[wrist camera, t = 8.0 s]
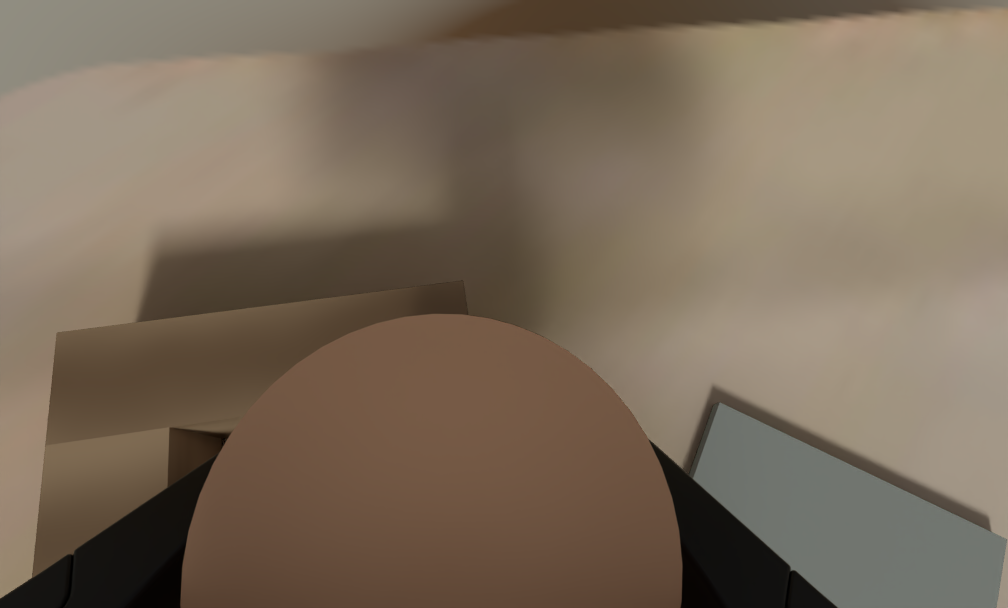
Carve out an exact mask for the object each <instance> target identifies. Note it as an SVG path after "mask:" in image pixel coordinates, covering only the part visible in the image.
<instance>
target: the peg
mask: <svg viewBox="0 0 1008 608" xmlns="http://www.w3.org/2000/svg"><path fill="white" fill-rule="evenodd" d="M681 601H682V556H681V545H680V534H679V528H678V523H677V518H676V514H675V509H674V504H673V500H672V496H671V493H670V490H669V487H668V484H667V481H666V478H665V475H664V473H663V470H662V467H661V465H660V463H659V460H658V458H657V456H656V454H655V452H654V450H653V448H652V446H651V444H650V442H649V440H648V438H647V436H646V434H645V433H644V431H643V430H642V428H641V427H640V425H639V423H638V422H637V420H636V419H635V417H634V416H633V414H632V412H631V411H630V410H629V409H628V407H627V406H626V405H625V404H624V402H623V401H622V400H621V399H620V398H619V396H618V395H617V394H616V393H615V391H614V390H613V389H612V388H611V387H610V386H609V385H608V384H607V383H606V382H605V381H604V380H603V379H602V378H601V377H600V376H598V375H597V374H596V373H595V372H594V371H593V370H592V369H591V368H590V367H589V366H587V365H586V364H585V363H583V362H582V361H581V360H579V359H578V358H577V357H575V356H574V355H573V354H571V353H570V352H569V351H567V350H565V349H564V348H562V347H560V346H558V345H557V344H555V343H553V342H551V341H550V340H548V339H546V338H544V337H542V336H540V335H538V334H535V333H533V332H530V331H528V330H526V329H523V328H521V327H518V326H515V325H512V324H508V323H505V322H501V321H497V320H494V319H490V318H484V317H477V316H470V315H463V314H427V315H417V316H407V317H402V318H397V319H393V320H389V321H384V322H380V323H376V324H373V325H371V326H368V327H365V328H362V329H360V330H357V331H354V332H351V333H349V334H347V335H345V336H343V337H341V338H339V339H337V340H335V341H333V342H331V343H329V344H327V345H325V346H323V347H321V348H320V349H318V350H317V351H315V352H314V353H312V354H311V355H309V356H308V357H306V358H305V359H303V360H301V361H300V362H298V363H297V364H296V365H294V366H293V367H292V368H291V369H290V370H289V371H287V372H286V373H285V374H284V375H283V376H281V377H280V378H279V379H278V380H277V381H276V382H274V383H273V384H272V385H271V386H270V387H269V388H268V389H267V390H266V391H265V392H264V394H263V395H262V396H261V397H260V398H259V399H258V400H257V401H256V402H255V403H254V404H253V405H252V406H251V407H250V409H249V410H248V411H247V413H246V414H245V415H244V417H243V418H242V419H241V421H240V422H239V423H238V425H237V426H236V427H235V429H234V430H233V431H232V433H231V434H230V436H229V437H228V439H227V441H226V443H225V444H224V446H223V448H222V450H221V451H220V453H219V455H218V456H217V458H216V460H215V462H214V463H213V465H212V468H211V470H210V472H209V475H208V477H207V479H206V481H205V484H204V486H203V488H202V491H201V493H200V495H199V498H198V501H197V505H196V508H195V511H194V515H193V518H192V521H191V525H190V528H189V531H188V537H187V543H186V549H185V554H184V560H183V566H182V582H181V601H180V607H181V608H681Z"/></svg>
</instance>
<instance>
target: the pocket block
mask: <svg viewBox="0 0 1008 608" xmlns="http://www.w3.org/2000/svg"><path fill="white" fill-rule="evenodd" d="M427 314H463V315H468V311H467V304H466V297H465V290H464V283H463V281H455V282H447V283H439V284H432V285H424V286H416V287H408V288H400V289H393V290H385V291H377V292H369V293H362V294H354V295H346V296H338V297H330V298H323V299H315V300H307V301H299V302H291V303H284V304H276V305H268V306H260V307H253V308H245V309H237V310H229V311H221V312H214V313H206V314H198V315H190V316H183V317H175V318H167V319H159V320H151V321H144V322H136V323H128V324H120V325H112V326H105V327H97V328H89V329H81V330H74V331H66V332H58V333H57V335H56V345H55V355H54V365H53V375H52V385H51V395H50V405H49V415H48V425H47V435H46V444H45V454H44V464H43V474H42V484H41V494H40V504H39V514H38V524H37V534H36V544H35V554H34V564H33V573H32V578H33V577H34V576H36V575H37V574H39V573H40V572H42V571H43V570H45V569H46V568H48V567H49V566H51V565H52V564H54V563H55V562H57V561H58V560H60V559H61V558H63V557H64V556H66V555H67V554H72V555H73V552H74V550H75V549H76V548H78V547H79V546H81V545H82V544H84V543H85V542H87V541H88V540H90V539H91V538H93V537H94V536H96V535H97V534H99V533H100V532H102V531H103V530H105V529H106V528H108V527H109V526H111V525H112V524H114V523H115V522H117V521H118V520H120V519H121V518H122V517H124V516H125V515H127V514H128V513H130V512H131V511H133V510H134V509H136V508H137V507H139V506H140V505H142V504H143V503H145V502H146V501H148V500H149V499H151V498H152V497H154V496H155V495H157V494H158V493H160V492H161V491H163V490H164V489H166V488H167V487H169V486H170V485H172V484H173V483H175V482H176V481H177V480H179V479H180V478H182V477H183V476H185V475H186V474H188V473H189V472H191V471H192V470H194V469H195V468H197V467H198V466H200V465H201V464H203V463H204V462H206V461H207V460H209V459H210V458H212V457H213V456H215V455H216V454H218V453H219V452H220V451H221V450H222V439H223V438H228V437H229V436H230V434H231V433H232V431H233V430H234V429H235V427H236V426H237V425H238V423H239V422H240V421H241V419H242V418H243V417H244V415H245V414H246V413H247V411H248V410H249V409H250V407H251V406H252V405H253V404H254V403H255V402H256V401H257V400H258V399H259V398H260V397H261V396H262V395H263V394H264V392H265V391H266V390H267V389H268V388H269V387H270V386H271V385H272V384H273V383H274V382H276V381H277V380H278V379H279V378H280V377H281V376H283V375H284V374H285V373H286V372H287V371H289V370H290V369H291V368H292V367H293V366H294V365H296V364H297V363H298V362H300V361H301V360H303V359H305V358H306V357H308V356H309V355H311V354H312V353H314V352H315V351H317V350H318V349H320V348H321V347H323V346H325V345H327V344H329V343H331V342H333V341H335V340H337V339H339V338H341V337H343V336H345V335H347V334H349V333H351V332H354V331H357V330H360V329H362V328H365V327H368V326H371V325H373V324H376V323H380V322H384V321H389V320H393V319H397V318H402V317H407V316H417V315H427Z"/></svg>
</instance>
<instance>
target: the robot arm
mask: <svg viewBox="0 0 1008 608" xmlns="http://www.w3.org/2000/svg"><path fill="white" fill-rule="evenodd" d="M648 440H649V439H648ZM649 442H650V444H651V446H652V448H653V450H654V452H655V454H656V456H657V458H658V460H659V463H660V465H661V467H662V470H663V473H664V475H665V478H666V481H667V484H668V487H669V490H670V493H671V496H672V500H673V504H674V509H675V514H676V518H677V523H678V528H679V534H680V545H681V556H682V601H681V608H838V607H837V606H836V605H834V604H833V603H832V602H831V601H830V600H829V599H827V598H826V597H825V596H824V595H823V594H822V593H821V592H819V591H818V590H817V589H816V588H815V587H814V586H813V585H811V584H810V583H809V582H808V581H807V580H806V579H805V578H804V577H802V576H801V575H800V574H799V573H798V572H797V571H796V570H792V571H791V567H790V565H789V564H788V563H787V562H785V561H784V560H783V559H782V558H781V557H780V556H779V555H778V554H777V553H775V552H774V551H773V550H772V549H771V548H770V547H769V546H768V545H766V544H765V543H764V542H763V541H762V540H761V539H760V538H759V537H758V536H756V535H755V534H754V533H753V532H752V531H751V530H750V529H749V528H748V527H746V526H745V525H744V524H743V523H742V522H741V521H740V520H739V519H737V518H736V517H735V516H734V515H733V514H732V513H731V512H730V511H729V510H727V509H726V508H725V507H724V506H723V505H722V504H721V503H720V502H718V501H717V500H716V499H715V498H714V497H713V496H712V495H711V494H710V493H708V492H707V491H706V490H705V489H704V488H703V487H702V486H701V485H699V484H698V483H697V482H696V481H695V480H694V479H693V478H692V477H691V476H689V475H688V474H687V473H686V472H685V471H684V470H683V469H682V468H681V467H679V466H678V465H677V464H676V463H675V462H674V461H673V460H672V459H670V458H669V457H668V456H667V455H666V454H665V453H664V452H663V451H662V450H660V449H659V448H658V447H657V446H656V445H655V444H654V443H653V442H651V441H650V440H649ZM219 453H220V452H219ZM219 453H218V454H216V455H215V456H213V457H212V458H210V459H209V460H207V461H206V462H204V463H203V464H201V465H200V466H198V467H197V468H195V469H194V470H192V471H191V472H189V473H188V474H186V475H185V476H183V477H182V478H180V479H179V480H177V481H176V482H175V483H173V484H172V485H170V486H169V487H167V488H166V489H164V490H163V491H161V492H160V493H158V494H157V495H155V496H154V497H152V498H151V499H149V500H148V501H146V502H145V503H143V504H142V505H140V506H139V507H137V508H136V509H134V510H133V511H131V512H130V513H128V514H127V515H125V516H124V517H122V518H121V519H120V520H118V521H117V522H115V523H114V524H112V525H111V526H109V527H108V528H106V529H105V530H103V531H102V532H100V533H99V534H97V535H96V536H94V537H93V538H91V539H90V540H88V541H87V542H85V543H84V544H82V545H81V546H79V547H78V548H76V549H75V550H74V552H73V555H72V554H67V555H66V556H64V557H63V558H61V559H60V560H58V561H57V562H55V563H54V564H52V565H51V566H49V567H48V568H46V569H45V570H43V571H42V572H40V573H39V574H37V575H36V576H34V577H33V578H31V579H30V580H28V581H27V582H25V583H24V584H22V585H20V586H19V587H17V588H16V589H14V590H13V591H11V592H10V593H8V594H7V595H5V596H4V597H2V598H0V608H181V607H180V601H181V582H182V566H183V560H184V554H185V549H186V543H187V537H188V531H189V528H190V525H191V521H192V518H193V515H194V511H195V508H196V505H197V501H198V498H199V495H200V493H201V491H202V488H203V486H204V484H205V481H206V479H207V477H208V475H209V472H210V470H211V468H212V465H213V463H214V462H215V460H216V458H217V456H218V455H219Z"/></svg>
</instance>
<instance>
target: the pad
mask: <svg viewBox="0 0 1008 608" xmlns="http://www.w3.org/2000/svg"><path fill="white" fill-rule="evenodd" d="M689 476H691V477H692V478H693V479H694V480H695V481H696V482H697V483H698V484H699V485H701V486H702V487H703V488H704V489H705V490H706V491H707V492H708V493H710V494H711V495H712V496H713V497H714V498H715V499H716V500H717V501H718V502H720V503H721V504H722V505H723V506H724V507H725V508H726V509H727V510H729V511H730V512H731V513H732V514H733V515H734V516H735V517H736V518H737V519H739V520H740V521H741V522H742V523H743V524H744V525H745V526H746V527H748V528H749V529H750V530H751V531H752V532H753V533H754V534H755V535H756V536H758V537H759V538H760V539H761V540H762V541H763V542H764V543H765V544H766V545H768V546H769V547H770V548H771V549H772V550H773V551H774V552H775V553H777V554H778V555H779V556H780V557H781V558H782V559H783V560H784V561H785V562H787V563H788V564H789V565H790V567H791V571H792V570H796V571H797V572H798V573H799V574H800V575H801V576H802V577H804V578H805V579H806V580H807V581H808V582H809V583H810V584H811V585H813V586H814V587H815V588H816V589H817V590H818V591H819V592H821V593H822V594H823V595H824V596H825V597H826V598H827V599H829V600H830V601H831V602H832V603H833V604H834V605H836V606H837V607H838V608H996V607H997V600H998V594H999V588H1000V581H1001V575H1002V568H1003V562H1004V556H1005V549H1006V543H1007V539H1005V538H1003V537H1001V536H999V535H997V534H995V533H992V532H990V531H988V530H986V529H984V528H982V527H980V526H978V525H976V524H974V523H972V522H969V521H967V520H965V519H963V518H961V517H959V516H957V515H955V514H953V513H951V512H948V511H946V510H944V509H942V508H940V507H938V506H936V505H934V504H932V503H930V502H928V501H925V500H923V499H921V498H919V497H917V496H915V495H913V494H911V493H909V492H907V491H904V490H902V489H900V488H898V487H896V486H894V485H892V484H890V483H888V482H886V481H884V480H881V479H879V478H877V477H875V476H873V475H871V474H869V473H867V472H865V471H863V470H860V469H858V468H856V467H854V466H852V465H850V464H848V463H846V462H844V461H842V460H840V459H837V458H835V457H833V456H831V455H829V454H827V453H825V452H823V451H821V450H819V449H816V448H814V447H812V446H810V445H808V444H806V443H804V442H802V441H800V440H798V439H796V438H793V437H791V436H789V435H787V434H785V433H783V432H781V431H779V430H777V429H775V428H772V427H770V426H768V425H766V424H764V423H762V422H760V421H758V420H756V419H754V418H751V417H749V416H747V415H745V414H743V413H741V412H739V411H737V410H735V409H733V408H731V407H728V406H726V405H724V404H722V403H720V402H719V403H717V404H714V405H713V408H712V411H711V414H710V417H709V420H708V422H707V425H706V428H705V431H704V434H703V437H702V439H701V442H700V445H699V448H698V451H697V454H696V456H695V459H694V462H693V465H692V468H691V470H690V473H689Z"/></svg>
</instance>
